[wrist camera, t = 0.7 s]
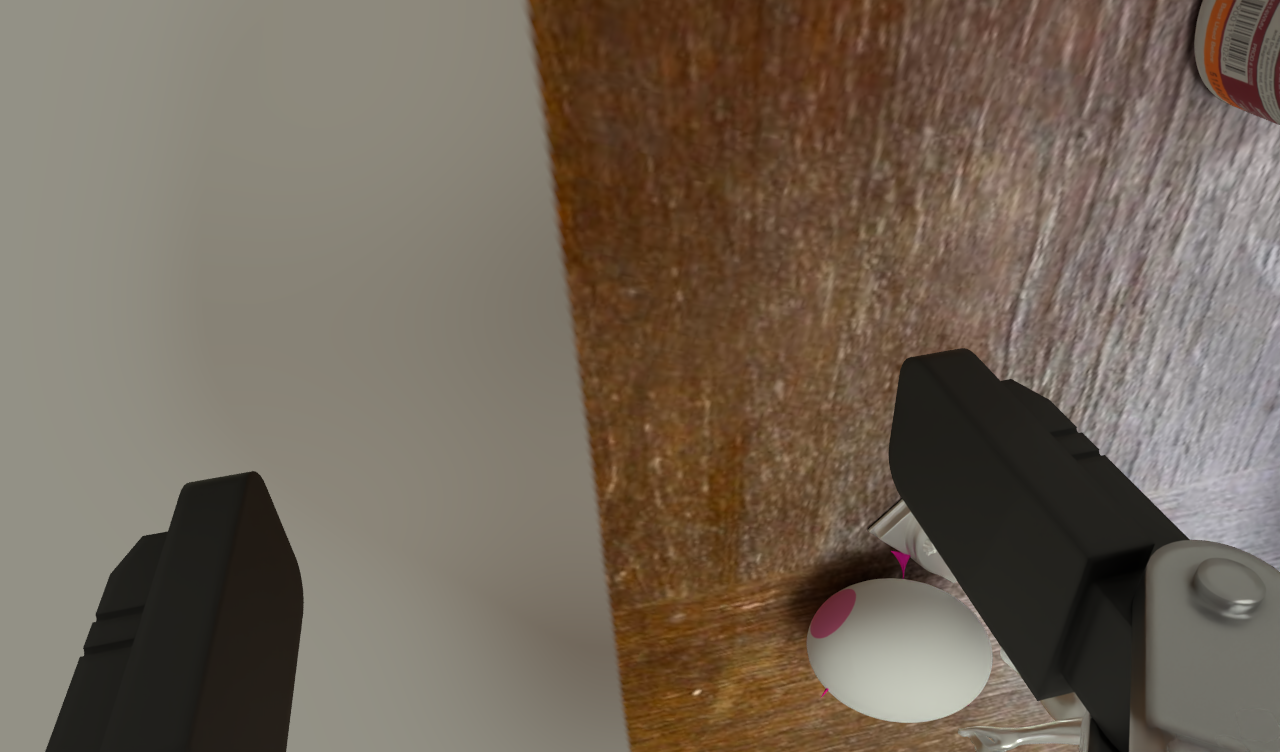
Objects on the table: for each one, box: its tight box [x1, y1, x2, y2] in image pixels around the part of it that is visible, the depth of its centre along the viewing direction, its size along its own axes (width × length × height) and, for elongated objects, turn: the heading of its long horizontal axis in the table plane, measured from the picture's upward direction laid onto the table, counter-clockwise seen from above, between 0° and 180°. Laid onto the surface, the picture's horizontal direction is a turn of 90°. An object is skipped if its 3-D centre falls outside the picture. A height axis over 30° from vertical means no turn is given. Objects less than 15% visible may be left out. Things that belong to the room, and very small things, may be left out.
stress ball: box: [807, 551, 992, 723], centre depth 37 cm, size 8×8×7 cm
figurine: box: [868, 499, 1087, 752], centre depth 29 cm, size 8×7×18 cm
